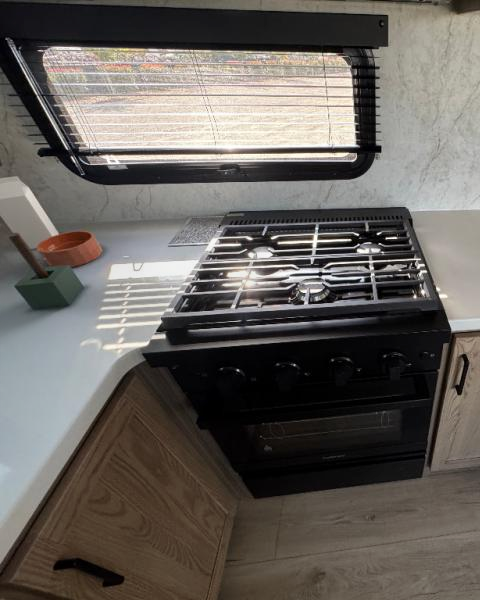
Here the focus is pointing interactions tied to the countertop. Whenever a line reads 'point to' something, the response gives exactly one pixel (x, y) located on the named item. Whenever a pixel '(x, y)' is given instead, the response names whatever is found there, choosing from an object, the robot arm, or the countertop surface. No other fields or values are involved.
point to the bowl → (70, 248)
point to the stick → (28, 255)
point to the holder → (50, 288)
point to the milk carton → (24, 212)
